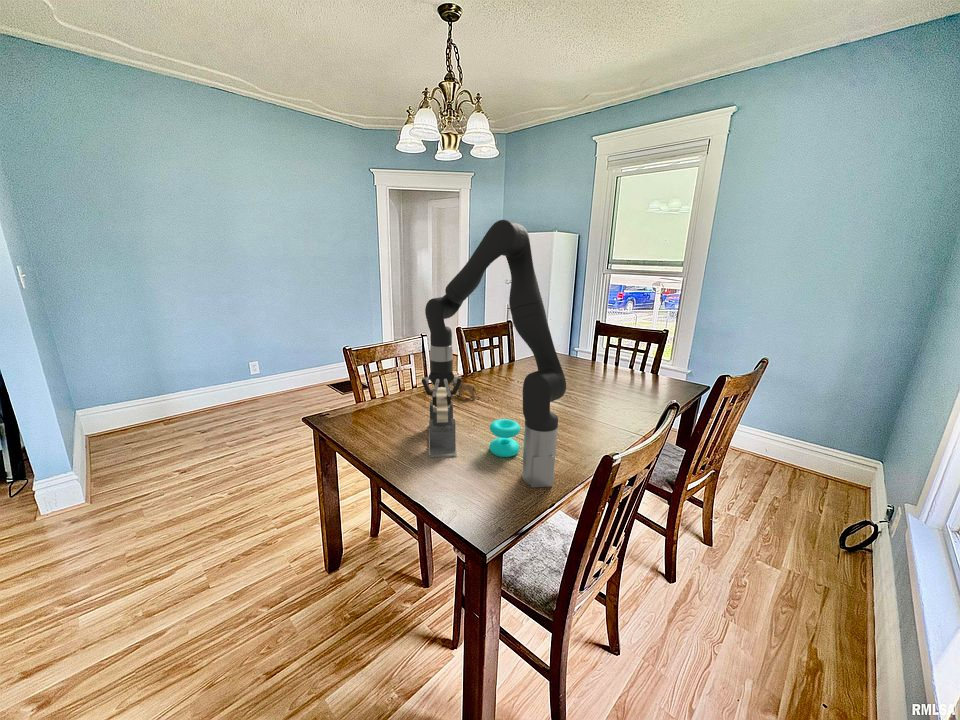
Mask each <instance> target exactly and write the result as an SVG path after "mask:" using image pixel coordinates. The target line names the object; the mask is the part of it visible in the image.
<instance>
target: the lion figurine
mask: <svg viewBox="0 0 960 720" xmlns="http://www.w3.org/2000/svg"><path fill="white" fill-rule="evenodd" d="M450 384H451V386H452V387H454V385H455V382H454V379H453V380H452V382H451V383H450ZM457 392H458V395H457V397H458V396H460V397H461V396H462V395H463V392H469V394H470V397H471V399H473V400H472V401H475V400H476V397H477V398H478V399H481V397H480V396H478V393H477V390H476V387H475V385H474V384H473V383H466V382H465V381H464V380H463V379H462V378H461V383H460V385H459V388H458V390H457ZM461 394H462V395H461Z"/></svg>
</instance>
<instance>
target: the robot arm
mask: <svg viewBox="0 0 960 720" xmlns="http://www.w3.org/2000/svg"><path fill="white" fill-rule="evenodd" d="M532 254H533V253H532V247H531V241H530V236H529V233H528V230H527V229H526V227H524V226H523V225H522V224H520V223H517V222H516V221H515V222H514V221H511V220H509V219H500V220H497V221H496V222H494V223H493V224H492V225H491V226H490V227H489V229H488V230H487V232H486V233H485V235H484V236H483V238H482V239H481V241H480V242H479V244H478V245H477V247H476V248H475V250H474V252H473V253H472V255H471V256H470V258H469V259H468V260H467V262H466V263H465V265H464V266H463V267H462V268H461V270H459V272H458V273H457V274H456V275H455V276H454V277H453V278H452V279H451V281H450V282H449V283H448V284H447V285H446V287H445V294H444V295H443V296H441V297H433V298H431V299H429V300H428V302H427V303H426V305H425V309H424V313H425V318H426V321H427V326H428V329H429V332H430V334H429V335H430V336H429V337H430V347H429V374H428V376H426V377H422V378H421V383H422V386H423V387H424V390H425V392H426V395H427V396H431V398H432V401H431V402H433V406H434V408H437V396H436V393H437V389H438V387H445V388H446V395H447V406H448V408H449V405H450V404H451V401H452V396H454V395H457V392H458V388H459V385H460V383H461V379H462V378H461V377H460V376H456V375H454V373H453V371H454V370H453V367H454V366H453V365H454V363H453V361H454V360H453V356H454V354H453V353H454V352H453V346H452V345H453V332H452V329H451V327H449V326H447V325H446V323H445V319H450V318H452V317H454V316H455V315H456V313H457V312H458V311H459V309H460V308H461V306H462V305H463V303H464V301H465V300H467V298H468V297H470V295H471V294H473V292H474V291H475V290H476V289H477V288H478V287H479V284H480V283H481V281H482V278H483V276H484V273H485V271H486V270H487V268H488V267H489V266H490V265H491V264H492V263H493V262H494V261H495V260H497V259H498V258H500V257H501V256H503V257H504V256H505V259H506V261H507V263H508V267H509V271H510V277H511V278H510V279H511V280H510V290H509V301H508V304H509V309H510V310H509V311H510V314H511V318H512V322H513V325H514V328H515V330H516V332H517V334H518V336H519V337H521V339H522V340H523V341H524V342H525V344H526V345H527V346H528V348H529V349H530V350H531V352H532V354H533V357H534V360H535V363H536V367H537V371H532V372H530V373H528V374H527V375H526V376H525V378H524V380H523V383H522V384H523V385H522V414H523V417H524V434H523V435H524V437H523V453H522V454H523V456H522V476H521V479H522V480H523V482H525V483H526V484H527V485H529V486H530V487H531V488H548V487H549V488H550V487H553V484H554V479H555V467H556V466H555V465H556V456H557V455H556V454H557V441H558V440H557V439H558V430H559V429H558V428H559V418H558V415H557V414H556V413H554V412H553V411H551V402H552V403H553V402H554V401H557V400H559V399H561V398H562V397H563V396H564V395H565V393H566V390H567V380H566V376H565V373H564V370H563V368H562V365H561V362H560V359H559V357H558V354H557V351H556V348H555V345H554V341H553V338H552V334H551V331H550V326H549V323H548V319H547V313H546V309H545V306H544V301H543V298H542V295H541V292H540V287H539V282H538V280H537V279H538V278H537V275H536V272H535V267H534V262H533V255H532ZM453 379H454V382H455V385H454V386H453V388H452V390H451V388H450V384H451V382H452V380H453ZM430 382H431V383H432V384H433V389H432V390H431V388H430V386H429V383H430Z"/></svg>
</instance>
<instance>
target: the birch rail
mask: <svg viewBox="0 0 960 720" xmlns="http://www.w3.org/2000/svg"><path fill="white" fill-rule="evenodd" d="M436 396H437V407H436V408H437V423H439V422H448V408H449V407H448V406H447V391H446V388H445V387H438V389H437V393H436Z"/></svg>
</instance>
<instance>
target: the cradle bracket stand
mask: <svg viewBox="0 0 960 720" xmlns="http://www.w3.org/2000/svg"><path fill="white" fill-rule="evenodd" d="M428 422H429V424H428V427H429V429H428V458H441V457H442V458H447V457H457V456H458V453H457V452H458V451H457V445H456V419H455V418H454V403H453V400H451V404H450V405H449V407H448V422H439V423H437V407H434V405H433V402H432V401H429V421H428Z"/></svg>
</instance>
